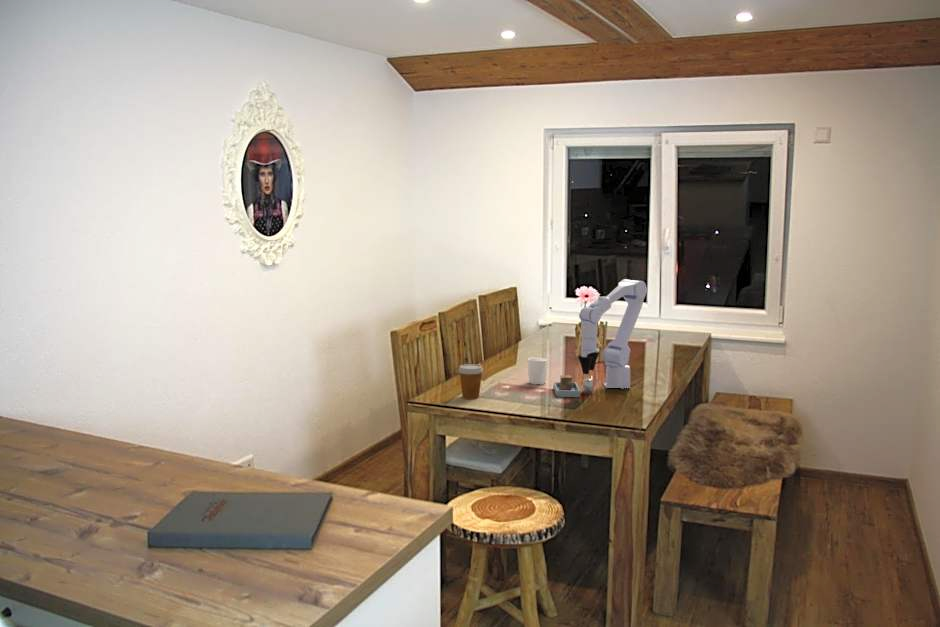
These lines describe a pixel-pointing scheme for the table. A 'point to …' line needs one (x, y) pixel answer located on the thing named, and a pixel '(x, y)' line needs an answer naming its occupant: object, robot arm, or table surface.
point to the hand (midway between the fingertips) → (588, 371)
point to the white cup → (537, 370)
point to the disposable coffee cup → (470, 380)
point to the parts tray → (567, 393)
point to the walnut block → (565, 382)
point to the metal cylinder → (588, 385)
